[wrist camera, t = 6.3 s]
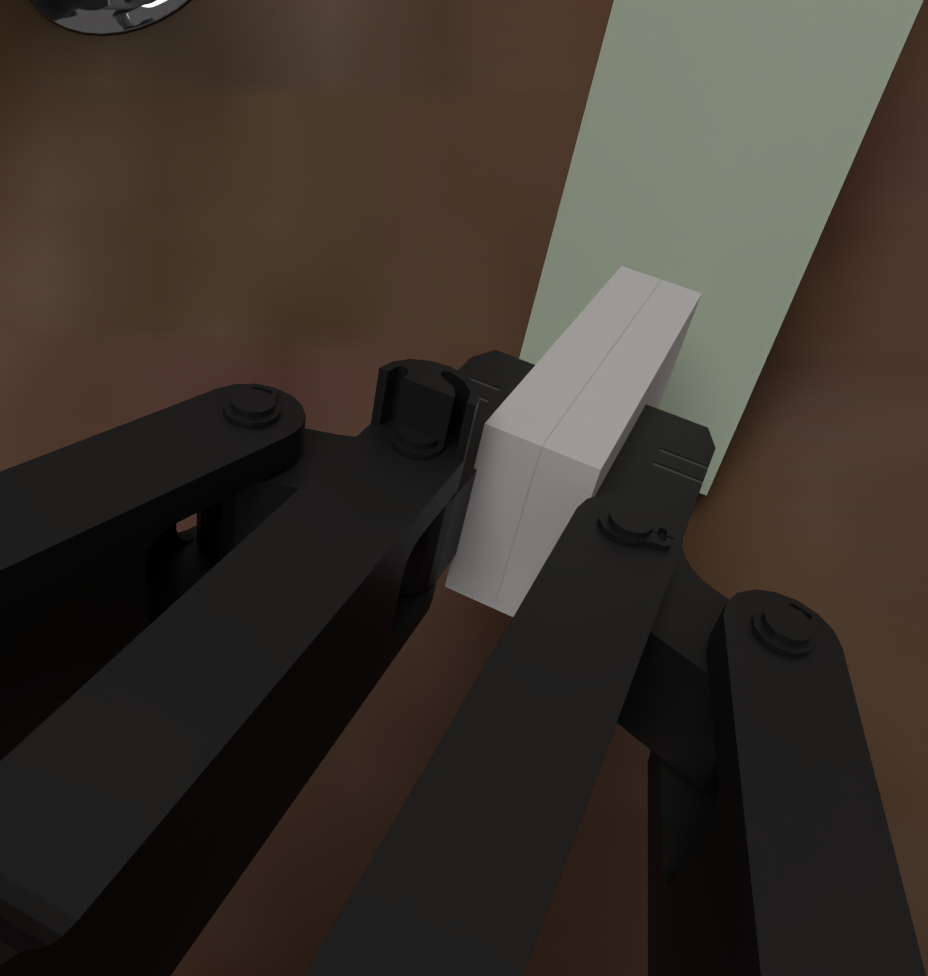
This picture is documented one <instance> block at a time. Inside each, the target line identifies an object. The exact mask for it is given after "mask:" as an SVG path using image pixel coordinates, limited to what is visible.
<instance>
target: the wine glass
mask: <svg viewBox="0 0 928 976" xmlns="http://www.w3.org/2000/svg"><path fill="white" fill-rule="evenodd" d="M30 1H31V3H32V4H33V5H34V6H35V7H36V9H37V10H38V11H39V12H40V13H41V14H42V15H43V16H45V17H46V18H47V19H49V20H50V21H51V22H53V23H55V24H57V25H59V26H61V27H63V28H65V29H67V30H71V31H75V32H78V33H82V34H91V35H112V34H122V33H126V32H130V31H134V30H138V29H142V28H144V27H146V26H149V25H151V24H154V23H156V22H158V21H161V20H162V19H164V18H166V17H167V16H169V15H171V14H172V13H174V12H176V11H178V10H179V9H180V8H181V7H183V6H184V5H185V4H186V3H188V2H189V1H190V0H30Z"/></svg>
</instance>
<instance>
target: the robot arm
mask: <svg viewBox="0 0 928 976" xmlns="http://www.w3.org/2000/svg"><path fill="white" fill-rule="evenodd" d="M701 294H702V293H699V292H696V291H693V290H690V289H687V288H684V287H682V286H679V285H676V284H673V283H670V282H667V281H664V280H661V279H658V278H655V277H652V276H650V275H647V274H644V273H641V272H638V271H635V270H632V269H629V268H626V267H623V266H621V267H620V268H619V270H618V271H617V272H616V273H615V274H614V275H613V276H612V278H611V279H610V280H609V281H608V282H607V283H606V285H605V286H604V287H603V288H602V289H601V290H600V291H599V293H598V294H597V295H596V296H595V297H594V298H593V299H592V301H591V302H590V303H589V304H588V305H587V306H586V308H585V309H584V310H583V311H582V312H581V313H580V314H579V316H578V317H577V318H576V319H575V320H574V321H573V322H572V324H571V325H570V326H569V327H568V328H567V329H566V331H565V332H564V333H563V334H562V335H561V336H560V337H559V339H558V340H557V341H556V342H555V343H554V344H553V345H552V347H551V348H550V349H549V350H548V351H547V352H546V354H545V355H544V356H543V357H542V358H541V359H540V360H539V362H538V363H537V364H536V365H534V364H531V363H529V362H526V361H524V360H521V359H518V358H516V357H513V356H510V355H508V354H505V353H502V352H500V351H497V350H494V351H490V352H487V353H484V354H481V355H478V356H474V357H471V358H470V359H469V360H468V361H467V362H466V363H465V364H464V365H463V366H462V367H461V368H460V369H459V370H456V369H454V368H452V367H450V366H447V365H443V364H439V363H436V362H432V361H426V360H414V359H408V360H401V361H393V362H391V363H389V364H387V365H384V366H382V367H380V368H379V374H378V381H377V387H376V394H375V401H374V407H373V414H372V420H371V424H370V425H369V426H368V427H367V428H366V429H364V430H363V431H362V432H361V433H360V434H359V435H358V436H357V437H352V436H344V435H336V434H331V433H326V432H321V431H316V430H311V429H305V418H306V415H305V412H304V410H303V407H302V405H301V404H300V403H299V402H298V401H297V400H296V399H295V398H294V397H293V396H291V395H290V394H287V393H285V392H283V391H281V390H278V389H276V388H273V387H269V386H263V385H259V384H234V385H230V386H226V387H222V388H217V389H215V390H212V391H210V392H207V393H204V394H202V395H199V396H197V397H194V398H191V399H189V400H186V401H184V402H181V403H178V404H176V405H173V406H170V407H168V408H165V409H163V410H160V411H157V412H155V413H152V414H150V415H147V416H144V417H142V418H139V419H137V420H134V421H131V422H129V423H126V424H124V425H121V426H118V427H116V428H113V429H111V430H108V431H105V432H103V433H100V434H98V435H95V436H92V437H90V438H87V439H85V440H82V441H79V442H77V443H74V444H72V445H69V446H66V447H64V448H61V449H59V450H56V451H53V452H51V453H48V454H46V455H43V456H40V457H38V458H35V459H33V460H30V461H27V462H25V463H22V464H19V465H17V466H14V467H12V468H9V469H6V470H4V471H1V472H0V976H171V974H172V973H173V971H174V970H175V969H176V967H177V966H178V964H179V963H180V961H181V960H182V959H183V957H184V956H185V954H186V953H187V952H188V950H189V949H190V947H191V946H192V944H193V943H194V942H195V940H196V939H197V937H198V936H199V935H200V933H201V932H202V930H203V929H204V927H205V926H206V925H207V923H208V922H209V920H210V919H211V918H212V916H213V915H214V913H215V912H216V910H217V909H218V908H219V906H220V905H221V903H222V902H223V901H224V899H225V898H226V896H227V895H228V893H229V892H230V891H231V889H232V888H233V886H234V885H235V883H236V882H237V881H238V879H239V878H240V876H241V875H242V874H243V872H244V871H245V869H246V868H247V866H248V865H249V864H250V862H251V861H252V859H253V858H254V857H255V855H256V854H257V852H258V851H259V849H260V848H261V847H262V845H263V844H264V842H265V841H266V840H267V838H268V837H269V835H270V834H271V832H272V831H273V830H274V828H275V827H276V825H277V824H278V823H279V821H280V820H281V818H282V817H283V815H284V814H285V813H286V811H287V810H288V808H289V807H290V806H291V804H292V803H293V801H294V800H295V798H296V797H297V796H298V794H299V793H300V791H301V790H302V788H303V787H304V786H305V784H306V783H307V781H308V780H309V779H310V777H311V776H312V774H313V773H314V771H315V770H316V769H317V767H318V766H319V764H320V763H321V762H322V760H323V759H324V757H325V756H326V754H327V753H328V752H329V750H330V749H331V747H332V746H333V745H334V743H335V742H336V740H337V739H338V737H339V736H340V735H341V733H342V732H343V730H344V729H345V728H346V726H347V725H348V723H349V722H350V720H351V719H352V718H353V716H354V715H355V713H356V712H357V711H358V709H359V708H360V706H361V705H362V703H363V702H364V701H365V699H366V698H367V696H368V695H369V693H370V692H371V691H372V689H373V688H374V686H375V685H376V684H377V682H378V681H379V679H380V678H381V676H382V675H383V674H384V672H385V671H386V669H387V668H388V667H389V665H390V664H391V662H392V661H393V659H394V658H395V657H396V655H397V654H398V652H399V651H400V650H401V648H402V647H403V645H404V644H405V642H406V641H407V640H408V638H409V637H410V635H411V634H412V633H413V631H414V630H415V628H416V627H417V625H418V624H419V623H420V621H421V620H422V618H423V617H424V616H425V614H426V613H427V611H428V610H429V607H430V604H431V602H432V599H433V595H434V591H435V587H436V582H437V579H438V578H439V576H440V575H441V574H442V572H443V571H444V570H445V568H446V567H447V566H448V564H449V563H450V561H451V563H450V568H449V572H448V576H447V580H446V584H445V587H447V588H449V589H451V590H454V591H456V592H458V593H460V594H462V595H465V596H467V597H469V598H471V599H474V600H476V601H478V602H480V603H482V604H485V605H487V606H489V607H491V608H494V609H496V610H498V611H500V612H503V613H505V614H507V615H509V616H511V617H513V618H512V620H511V622H510V623H509V625H508V627H507V629H506V630H505V632H504V634H503V635H502V637H501V639H500V641H499V642H498V644H497V646H496V648H495V649H494V651H493V653H492V654H491V656H490V658H489V660H488V661H487V663H486V665H485V666H484V668H483V670H482V672H481V673H480V675H479V677H478V678H477V680H476V682H475V684H474V685H473V687H472V689H471V690H470V692H469V694H468V696H467V697H466V699H465V701H464V702H463V704H462V706H461V708H460V709H459V711H458V713H457V714H456V716H455V718H454V720H453V721H452V723H451V725H450V726H449V728H448V730H447V732H446V733H445V735H444V737H443V738H442V740H441V742H440V744H439V745H438V747H437V749H436V750H435V752H434V754H433V756H432V757H431V759H430V761H429V762H428V764H427V766H426V768H425V769H424V771H423V773H422V774H421V776H420V778H419V780H418V781H417V783H416V785H415V786H414V788H413V790H412V792H411V793H410V795H409V797H408V798H407V800H406V802H405V804H404V805H403V807H402V809H401V810H400V812H399V814H398V816H397V817H396V819H395V821H394V823H393V824H392V826H391V828H390V829H389V831H388V833H387V835H386V836H385V838H384V840H383V841H382V843H381V845H380V847H379V848H378V850H377V852H376V853H375V855H374V857H373V859H372V860H371V862H370V864H369V865H368V867H367V869H366V871H365V872H364V874H363V876H362V877H361V879H360V881H359V883H358V884H357V886H356V888H355V889H354V891H353V893H352V895H351V896H350V898H349V900H348V901H347V903H346V905H345V907H344V908H343V910H342V912H341V913H340V915H339V917H338V919H337V920H336V922H335V924H334V925H333V927H332V929H331V931H330V932H329V934H328V936H327V937H326V939H325V941H324V943H323V944H322V946H321V948H320V949H319V951H318V953H317V955H316V956H315V958H314V960H313V961H312V963H311V965H310V967H309V968H308V970H307V972H306V973H305V975H304V976H523V973H524V971H525V968H526V965H527V963H528V960H529V957H530V954H531V952H532V949H533V946H534V944H535V941H536V938H537V936H538V933H539V930H540V928H541V925H542V922H543V919H544V917H545V914H546V911H547V909H548V906H549V903H550V901H551V898H552V895H553V893H554V890H555V887H556V884H557V882H558V879H559V876H560V874H561V871H562V868H563V866H564V863H565V860H566V857H567V855H568V852H569V849H570V847H571V844H572V841H573V839H574V836H575V833H576V831H577V828H578V825H579V822H580V820H581V817H582V814H583V812H584V809H585V806H586V804H587V801H588V798H589V796H590V793H591V790H592V787H593V785H594V782H595V779H596V777H597V774H598V771H599V769H600V766H601V763H602V760H603V758H604V755H605V752H606V750H607V747H608V744H609V742H610V739H611V736H612V734H613V731H614V728H615V725H616V723H618V724H620V725H621V726H622V727H623V728H624V729H626V730H627V731H628V732H629V733H631V734H632V735H633V736H634V737H635V738H637V739H638V740H639V741H640V742H642V743H643V744H644V745H645V746H647V747H648V748H649V749H650V750H651V752H650V756H649V760H648V976H926V974H925V970H924V966H923V962H922V958H921V954H920V950H919V946H918V942H917V938H916V935H915V931H914V927H913V923H912V919H911V915H910V911H909V907H908V903H907V899H906V895H905V891H904V888H903V884H902V880H901V876H900V872H899V868H898V864H897V860H896V856H895V852H894V848H893V844H892V840H891V837H890V833H889V829H888V825H887V821H886V817H885V813H884V809H883V805H882V801H881V797H880V793H879V789H878V786H877V782H876V778H875V774H874V770H873V766H872V762H871V758H870V754H869V750H868V746H867V742H866V738H865V735H864V731H863V727H862V723H861V719H860V715H859V711H858V707H857V703H856V699H855V695H854V691H853V687H852V684H851V680H850V676H849V672H848V668H847V664H846V660H845V656H844V652H843V648H842V646H841V644H840V642H839V640H838V638H837V636H836V634H835V632H834V630H833V629H832V628H831V627H830V626H829V625H828V624H827V623H826V622H825V621H824V620H823V619H822V618H821V617H820V616H819V615H818V614H817V613H816V612H814V611H813V610H811V609H810V608H808V607H806V606H805V605H803V604H802V603H800V602H799V601H797V600H794V599H792V598H789V597H787V596H784V595H781V594H779V593H776V592H770V591H762V590H750V591H745V592H740V593H737V594H736V595H734V596H733V597H732V598H731V599H730V600H729V599H728V598H726V597H725V596H723V595H722V594H720V593H719V592H717V591H716V590H714V589H713V588H712V587H711V586H709V585H708V584H707V583H706V582H704V581H703V580H702V579H701V578H700V577H699V576H698V575H697V574H696V573H695V571H694V570H693V569H692V568H691V567H690V565H689V563H688V561H687V560H686V558H685V556H684V552H683V548H682V541H683V535H684V533H685V530H686V527H687V524H688V522H689V519H690V516H691V514H692V511H693V508H694V505H695V503H696V500H697V497H698V495H699V492H700V489H701V487H702V483H703V481H704V478H705V476H706V473H707V470H708V467H709V465H710V462H711V460H712V457H713V454H714V451H715V449H716V448H715V445H714V442H713V440H712V437H711V434H710V431H709V429H708V427H705V426H702V425H700V424H697V423H694V422H692V421H689V420H687V419H684V418H681V417H679V416H676V415H673V414H671V413H668V412H665V411H663V410H660V409H658V407H659V405H660V402H661V399H662V397H663V394H664V392H665V389H666V386H667V384H668V381H669V378H670V376H671V373H672V371H673V368H674V365H675V363H676V360H677V357H678V355H679V352H680V350H681V347H682V344H683V342H684V339H685V336H686V334H687V331H688V328H689V326H690V323H691V321H692V318H693V315H694V313H695V310H696V307H697V305H698V302H699V300H700V297H701ZM195 513H197V525H196V526H194V527H192V528H190V529H188V530H186V531H182V532H178V533H177V530H176V523H177V522H179V521H181V520H183V519H185V518H187V517H189V516H191V515H193V514H195Z"/></svg>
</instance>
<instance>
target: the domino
mask: <svg viewBox="0 0 928 976" xmlns="http://www.w3.org/2000/svg"><path fill="white" fill-rule="evenodd" d="M922 2H923V0H614V2H613V6H612V10H611V14H610V17H609V21H608V25H607V29H606V33H605V36H604V40H603V44H602V48H601V51H600V55H599V59H598V63H597V67H596V70H595V74H594V78H593V82H592V85H591V89H590V93H589V97H588V101H587V104H586V108H585V112H584V116H583V119H582V123H581V127H580V131H579V135H578V138H577V142H576V146H575V150H574V153H573V157H572V161H571V165H570V169H569V172H568V176H567V180H566V184H565V187H564V191H563V195H562V199H561V203H560V206H559V210H558V214H557V218H556V221H555V225H554V229H553V233H552V237H551V240H550V244H549V248H548V252H547V256H546V259H545V263H544V267H543V271H542V274H541V278H540V282H539V286H538V290H537V293H536V297H535V301H534V305H533V308H532V312H531V316H530V320H529V324H528V327H527V331H526V335H525V339H524V342H523V346H522V350H521V354H520V358H519V359H521V360H524V361H526V362H529V363H531V364H534V365H536V364H537V363H538V362H539V360H540V359H541V358H542V357H543V356H544V355H545V354H546V352H547V351H548V350H549V349H550V348H551V347H552V345H553V344H554V343H555V342H556V341H557V340H558V339H559V337H560V336H561V335H562V334H563V333H564V332H565V331H566V329H567V328H568V327H569V326H570V325H571V324H572V322H573V321H574V320H575V319H576V318H577V317H578V316H579V314H580V313H581V312H582V311H583V310H584V309H585V308H586V306H587V305H588V304H589V303H590V302H591V301H592V299H593V298H594V297H595V296H596V295H597V294H598V293H599V291H600V290H601V289H602V288H603V287H604V286H605V285H606V283H607V282H608V281H609V280H610V279H611V278H612V276H613V275H614V274H615V273H616V272H617V271H618V270H619V268H620V267H621V266H623V267H626V268H629V269H632V270H635V271H638V272H641V273H644V274H647V275H650V276H652V277H655V278H658V279H661V280H664V281H667V282H670V283H673V284H676V285H679V286H682V287H684V288H687V289H690V290H693V291H696V292H699V293H702V294H701V297H700V300H699V302H698V305H697V307H696V310H695V313H694V315H693V318H692V321H691V323H690V326H689V328H688V331H687V334H686V336H685V339H684V342H683V344H682V347H681V350H680V352H679V355H678V357H677V360H676V363H675V365H674V368H673V371H672V373H671V376H670V378H669V381H668V384H667V386H666V389H665V392H664V394H663V397H662V399H661V402H660V405H659V407H658V409H660V410H663V411H665V412H668V413H671V414H673V415H676V416H679V417H681V418H684V419H687V420H689V421H692V422H694V423H697V424H700V425H702V426H705V427H708V429H709V431H710V434H711V437H712V440H713V442H714V445H715V448H716V449H715V451H714V454H713V457H712V460H711V462H710V465H709V467H708V470H707V473H706V476H705V478H704V481H703V483H702V487H701V489H700V492H699V493H701V494H704V495H706V496H707V494H708V491H709V489H710V487H711V484H712V482H713V480H714V478H715V475H716V473H717V471H718V468H719V466H720V464H721V462H722V459H723V457H724V455H725V452H726V450H727V448H728V446H729V443H730V441H731V439H732V436H733V434H734V432H735V430H736V427H737V425H738V423H739V420H740V418H741V416H742V414H743V411H744V409H745V407H746V404H747V402H748V400H749V398H750V395H751V393H752V391H753V388H754V386H755V384H756V382H757V379H758V377H759V375H760V372H761V370H762V368H763V366H764V363H765V361H766V359H767V356H768V354H769V352H770V350H771V347H772V345H773V343H774V341H775V338H776V336H777V334H778V331H779V329H780V327H781V325H782V322H783V320H784V318H785V315H786V313H787V311H788V309H789V306H790V304H791V302H792V299H793V297H794V295H795V293H796V290H797V288H798V286H799V283H800V281H801V279H802V277H803V274H804V272H805V270H806V267H807V265H808V263H809V261H810V258H811V256H812V254H813V251H814V249H815V247H816V245H817V242H818V240H819V238H820V235H821V233H822V231H823V229H824V226H825V224H826V222H827V219H828V217H829V215H830V213H831V210H832V208H833V206H834V203H835V201H836V199H837V197H838V194H839V192H840V190H841V187H842V185H843V183H844V181H845V178H846V176H847V174H848V171H849V169H850V167H851V165H852V162H853V160H854V158H855V156H856V153H857V151H858V149H859V146H860V144H861V142H862V140H863V137H864V135H865V133H866V130H867V128H868V126H869V124H870V121H871V119H872V117H873V114H874V112H875V110H876V108H877V105H878V103H879V101H880V98H881V96H882V94H883V92H884V89H885V87H886V85H887V82H888V80H889V78H890V76H891V73H892V71H893V69H894V66H895V64H896V62H897V60H898V57H899V55H900V53H901V50H902V48H903V46H904V44H905V41H906V39H907V37H908V34H909V32H910V30H911V28H912V25H913V23H914V21H915V18H916V16H917V14H918V12H919V9H920V7H921V5H922Z"/></svg>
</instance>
